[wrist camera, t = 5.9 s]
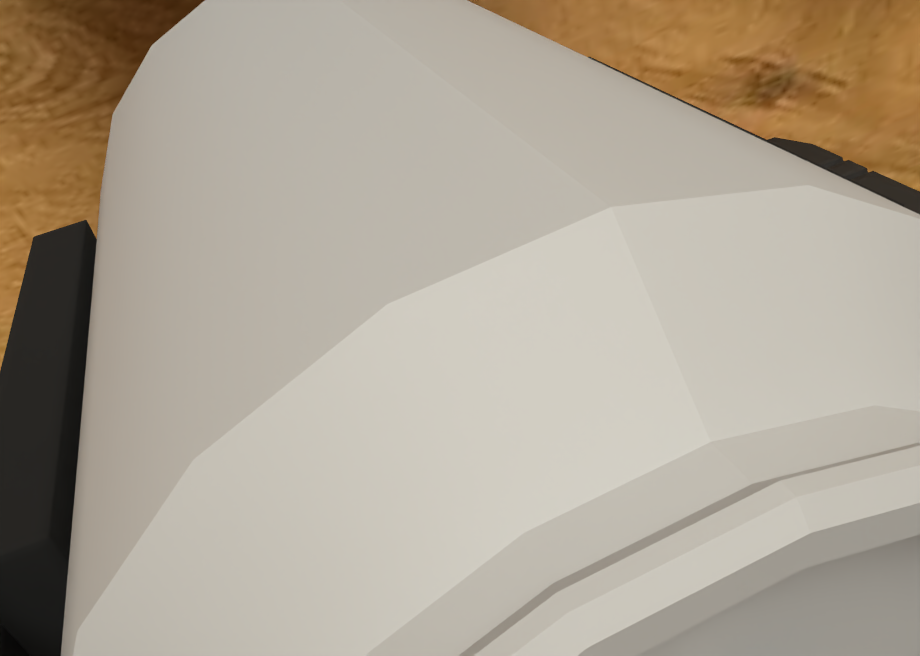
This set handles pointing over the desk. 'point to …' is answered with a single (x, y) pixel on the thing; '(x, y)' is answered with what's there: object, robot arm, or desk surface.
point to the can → (481, 360)
